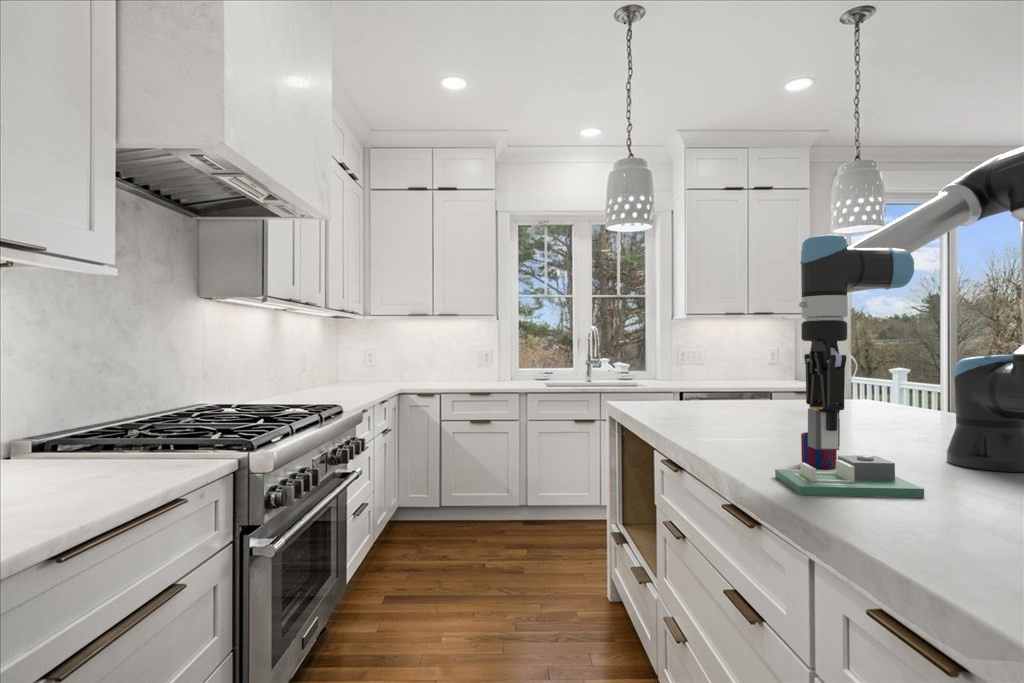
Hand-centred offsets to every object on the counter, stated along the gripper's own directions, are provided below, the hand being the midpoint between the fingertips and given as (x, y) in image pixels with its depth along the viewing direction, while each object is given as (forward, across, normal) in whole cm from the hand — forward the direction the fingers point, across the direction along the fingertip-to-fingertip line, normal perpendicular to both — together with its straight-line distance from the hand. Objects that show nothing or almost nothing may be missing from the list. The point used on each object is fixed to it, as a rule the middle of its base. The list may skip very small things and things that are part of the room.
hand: (824, 445), depth 108 cm
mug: (+8, -17, +5) cm, 19 cm away
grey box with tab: (+6, -3, +8) cm, 11 cm away
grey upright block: (0, 0, 0) cm, 0 cm away
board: (+7, 0, +3) cm, 8 cm away
